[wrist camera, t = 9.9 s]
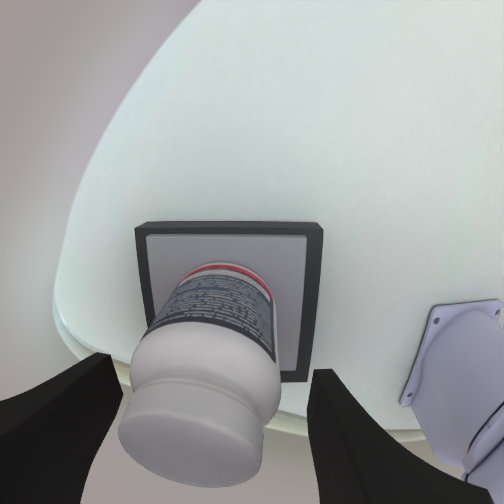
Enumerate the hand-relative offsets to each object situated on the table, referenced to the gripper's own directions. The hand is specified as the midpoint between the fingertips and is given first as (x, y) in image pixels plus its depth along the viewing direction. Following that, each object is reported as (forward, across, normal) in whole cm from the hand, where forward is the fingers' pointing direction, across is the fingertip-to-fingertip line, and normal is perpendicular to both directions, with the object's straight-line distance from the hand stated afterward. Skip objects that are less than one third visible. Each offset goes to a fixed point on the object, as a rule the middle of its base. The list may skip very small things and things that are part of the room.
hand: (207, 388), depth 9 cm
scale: (+8, 0, +1) cm, 8 cm away
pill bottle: (+6, 0, 0) cm, 6 cm away
